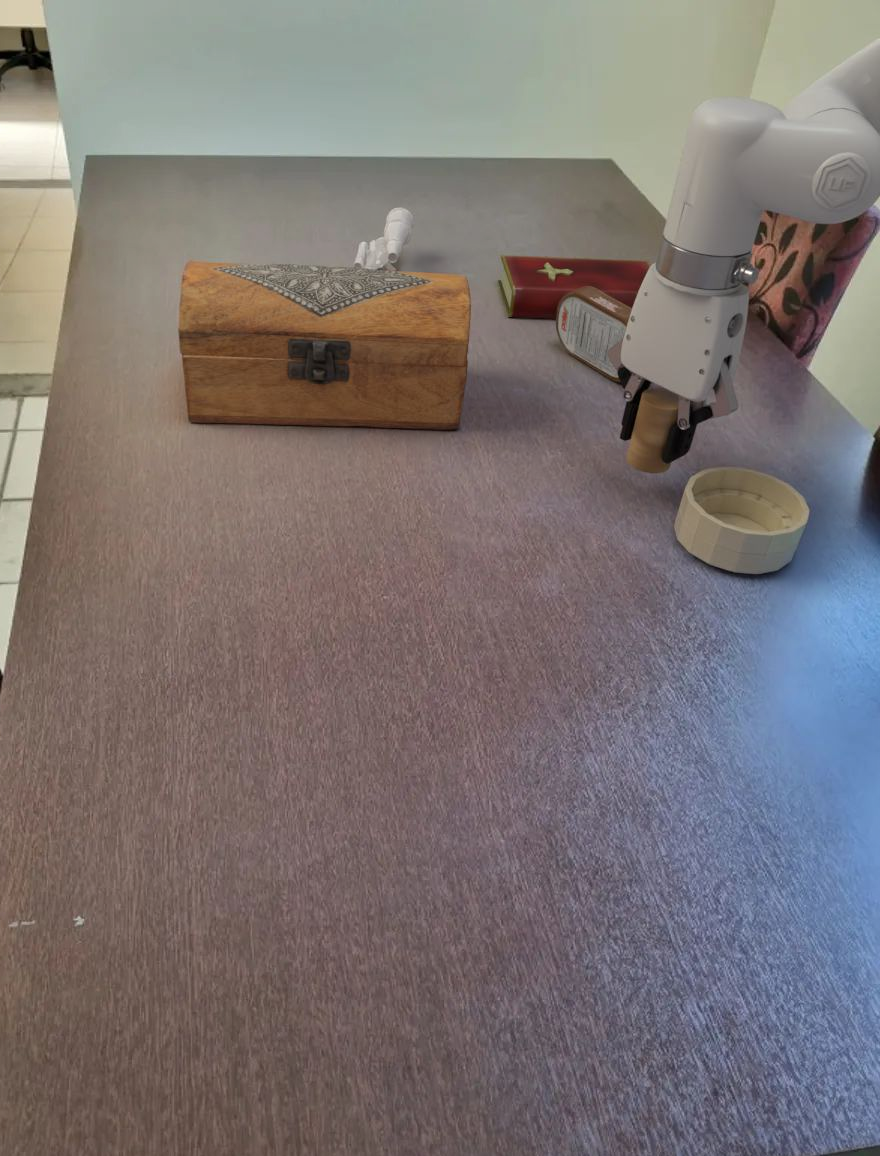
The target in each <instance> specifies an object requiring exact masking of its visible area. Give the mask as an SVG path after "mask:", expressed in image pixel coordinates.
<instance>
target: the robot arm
mask: <svg viewBox="0 0 880 1156" xmlns="http://www.w3.org/2000/svg"><path fill="white" fill-rule="evenodd" d="M679 160H680V161H679V165H678V168H677V172H676V178H675V182H674V186H673V190H672V194H671V199H670V203H669V208H668V211H667V215H666V218H665V219H666V220H665V224H664V228H663V232H662V237H661V240H660V245H659V250H658V254H657V258H656V262H654V263H651V266H650V268H649V270H648V272H647V274H646V276H645V278H644V280H643V282H642V285H641V287H640V289H639V292H638V294H637V297H636V299H635V302H634V305H633V308H632V311H631V314H630V317H629V321H628V324H627V327H626V331H625V335H624V337H623V338H622V339H621V340H620V341H618V342H617V343H616V344H615V345H614V346H613V347H612V348H610V349H609V350H608V353H607V355H608V357H609V359H610V361H611V362H612V364H613V366H614V367H615V369H616V370H617V371H618V372H617V374H618V377H619V380H620V382H619V383H620V384H621V386H622V388H623V392H622V398H623V400H624V401H625V407H624V411H623V414H622V419H621V431H620V435H619V439H620V440H622V441H623V442H626V441H629V440H631V436H632V432H633V428H634V424H635V420H636V416H637V412H638V408H639V404H640V400H641V396H642V393H643V392H644V391H645V390H646V389H649V388H653V387H652V386H653V385H657V387H662V388H664V389H667V390H669V391H671V392H673V393H675V394H677V395H679V403H678V420H677V423H676V424H674V425H672V426H671V427H670V430H669V434H668V437H667V441H666V444H665V448H664V452H663V455H662V461H663V462H665V463H666V464H669V463H671V464H672V462H674V461H676V460H678V459H681V458H682V457H684V456H686V455H687V454H688V453H689V452H690V449H691V447H692V444H693V440H694V436H695V434H696V430H697V426H698V424H701V423H703V422H705V421H707V420H710V419H715V418H721V417H724V416H728V415H731V414H732V413H734V412H736V411H738V409H739V403H738V398H737V396H736V392H735V387H734V384H733V382H734V379H735V376H736V372H737V368H738V365H739V360H740V356H741V352H742V349H743V343H744V339H745V334H746V333H745V332H746V328H747V323H748V322H747V321H748V313H749V302H750V287H748V286H747V285H746V284H748V285H754V284H755V283H756V281H757V280H758V278H759V276H760V268H758V267H755V266H753V264H752V263H751V261H752V258H753V255H754V252H752V251H753V247H754V244H755V241H756V238H757V234H758V231H759V227H760V224H761V221H762V217H763V214H764V211H766V212H767V211H768V212H771V213H777V214H779V215H783V216H786V217H789V218H791V219H796V220H799V221H803V222H807V223H811V224H819V225H835V224H841V223H846V222H847V221H851V220H853V219H855V218H857V217H859V216H860V215H862V214H864V213H865V212H866V211H868V210H869V209H870V208H871V207H872V206H874V204H876V202H877V201H878V200H879V198H880V37H879V38H877V39H875V40H874V41H872V42H870V43H869V44H867V45H866V46H864V47H862V48H861V49H860V50H858V51H857V52H856V53H854V54H853V55H852V54H851V56H849V57H848V58H846V59H845V60H844V61H842V62H841V63H839V64H837V66H835V67H834V68H832V69H830V70H829V71H828V72H827V73H825V74H824V75H823V76H821V77H820V78H817V79H816V80H815V81H814V82H812V83H811V84H810V85H808V86H807V87H806V88H804V89H803V90H802V91H800V92H799V93H798V94H796V96H795V97H794V98H792V100H790V101H789V102H788V103H787V104H786V106H785V107H784V108H783V109H782V110H781V109H780V108H778V107H776V106H774V105H773V104H771V103H768V102H765V101H761V100H759V99H753V98H748V97H739V96H716V97H712V98H707V99H706V100H704V101H703V102H701V103H700V104H698V105H697V107H696V108H695V109H694V111H693V113H692V115H691V117H690V120H689V124H688V127H687V131H686V135H685V139H684V143H683V148H682V152H681V157H680V159H679ZM745 283H746V284H745ZM712 390H713V393H714V396H715V401H714V402H711V403H708V404H707V399H708V396H709V395H710V392H711V391H712Z"/></svg>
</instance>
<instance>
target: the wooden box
mask: <svg viewBox="0 0 880 1156" xmlns="http://www.w3.org/2000/svg"><path fill="white" fill-rule="evenodd" d="M178 308H179V309H178V329H177V330H178V331H177V333H178V344H179V346H178V347H179V353H180V354H181V360H182V361H181V363H182V370H183V381H184V390H185V391H184V392H185V399H186V409H187V411H186V412H187V419H188V422H191V423H196V424H199V423H201V424H247V425H251V424H252V425H253V424H254V425H285V426H286V425H287V426H315V427H316V426H317V427H318V426H319V427H320V426H321V427H364V428H365V427H368V428H385V429H386V428H387V429H389V428H390V429H414V430H415V429H416V430H436V431H437V430H439V431H440V430H442V431H443V430H444V431H445V430H447V431H448V430H456V429H460V424H461V418H462V411H463V401H464V397H465V390H466V383H467V376H468V366H469V360H468V354H469V344H470V332H471V318H472V316H471V315H472V299H471V290H470V283H469V280H468V277H467V276H465V275H461V274H457V273H456V274H455V273H441V272H420V271H419V272H418V271H399V270H398V271H397V270H395V271H389V270H387V269H386V270H384V269H383V270H382V269H381V270H380V269H377V270H376V269H367V268H353V267H351V266H348V267H347V266H330V265H309V264H308V265H307V264H294V263H284V264H283V263H239V262H238V263H237V262H236V263H234V262H209V261H207V262H206V261H195V260H189V261H188V262H186V264H185V266H184V270H183V272H182V278H181V284H180V299H179V307H178Z"/></svg>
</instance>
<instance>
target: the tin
mask: <svg viewBox="0 0 880 1156" xmlns="http://www.w3.org/2000/svg"><path fill="white" fill-rule="evenodd" d="M631 311H632V308H630V307H628V306H626V305H625V304H623V303H621V302H619V301H617V300H615V299H614V298H612V297H610V296H608V295H606V294H605V293H603V292H601V291H599V290H598V289H596V288H594V287H590V286H585V287H581V288H579V289H578V290H575V291H572V292H570V293H568V294H566V295H565V296H564V297H562V299H561V300H560V302H559V304H558V308H557V314H556V319H555V330H556V334H557V337H558V339H559V342H560V344H561V345H562V347H563V348H564V350H565V351H566V352H567V353H568V354H569V355H570V356H572V357H573V358H575V359H577V360H578V361H580V362H581V363H583V364H585V365H586V366H588V367H589V368H591V369H593V370H594V371H596V372H597V373H599V374H601V375H603V376H604V377H606V378H607V379H609V380H610V381H613V382H615V383H621V382H620V380H619V377H618V374H617V372H618V371H617V370H616V369H615V367H614V366H613V364H612V362H611V361H610V359H609V357H608V355H607V353H608V350H609V349H610V348H612V347H613V346H614V345H615V344H616V343H617V342H618V341H620V340H621V339H622V338H623V337H624V335H625V331H626V327H627V324H628V321H629V317H630V314H631Z"/></svg>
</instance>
